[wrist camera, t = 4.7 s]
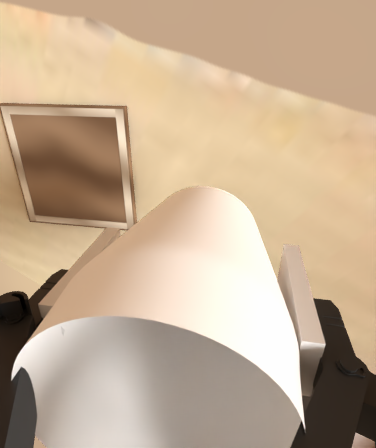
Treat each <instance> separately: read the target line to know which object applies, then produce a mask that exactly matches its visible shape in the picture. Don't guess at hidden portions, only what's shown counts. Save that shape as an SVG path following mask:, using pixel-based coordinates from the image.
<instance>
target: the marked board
mask: <svg viewBox="0 0 376 448" xmlns="http://www.w3.org/2000/svg"><path fill="white" fill-rule="evenodd" d="M0 110H1V114H2V118H3V122H4V126H5V129H6V133H7V137H8V141H9V144H10V148H11V152H12V156H13V160H14V163H15V167H16V171H17V175H18V178H19V182H20V186H21V190H22V193H23V197H24V201H25V205H26V209H27V212H28V216H29V220H30V222H40V223H51V224H62V225H73V226H85V227H96V228H107V227H109V228H119V229H120V230H129V229H130V228H131V227H132V226H133V225H135V224H136V223H137V219H136V207H135V196H134V184H133V172H132V161H131V149H130V137H129V126H128V114H127V106H97V105H56V104H14V103H1V104H0Z"/></svg>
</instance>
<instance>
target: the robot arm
mask: <svg viewBox="0 0 376 448" xmlns="http://www.w3.org/2000/svg"><path fill="white" fill-rule="evenodd" d="M119 237H120V229H119V228H109V227H107V228H106V229H105V230H104V231H103V232H102V233H101V235H100V236H99V237H98V238H97V239H96V240H95V241H94V242H93V244H92V245H91V246H90V247H89V248H88V249H87V250H86V251H85V252H84V254H83V255H82V256H81V257H80V258H79V259H78V260H77V261H76V262H75V264H74V265H73V266H72V267H71V268H70V269H69V270H64V269H61V270H60V271H58V272H56V273H54V274H53V275H52V276H51V277H50V278H49V279H48V280H47V281H46V283H44V284H43V285H42V286H41V287H40V289H38V290H37V291H36V292H35V293H34V295H32V297H31V298H30V299H29V300H28V296H27V294H25V293H24V292H20V291H14V292H9V293H6V294H3V295H1V296H0V448H33V445H34V438H35V431H36V423H37V409H36V401H35V394H34V389H33V385H32V381H31V379H30V376H29V374H28V372H27V371H26V369H25V368H23V367H21V368H20V369H19V371H18V372H17V373H16V375H15V376H14V378H13V379H12V381H11V378H12V370H13V366H14V363H15V360H16V358H17V356H18V354H19V353H20V351H21V350H22V348H23V347H24V346H25V344H26V343H27V341H28V340H29V339H30V337H31V336H32V335H33V333H34V332H35V330H36V329H37V328H38V326H39V325H40V323H41V322H42V321H43V319H44V318H45V317H46V315H47V314H48V312H49V311H50V309H51V308H52V307H53V305H54V304H55V302H56V301H57V299H58V298H59V296H60V295H61V293H62V292H63V290H64V289H65V288H66V286H67V285H68V283H69V282H70V280H71V279H72V278H73V277H74V276H75V275H76V274H77V273H78V272H79V271H80V270H81V269H82V268H83V267H84V266H85V265H86V264H87V263H89V262H90V261H91V260H92V259H93V258H95V257H96V256H97V255H98V254H99V253H101V252H102V251H103V250H104V249H105V248H107V247H108V246H109V245H110V244H111V243H113V242H114V241H115V240H116V239H118V238H119ZM277 282H278V284H279V287H280V290H281V293H282V295H283V298H284V301H285V303H286V306H287V309H288V312H289V315H290V317H291V320H292V323H293V326H294V330H295V334H296V337H297V341H298V347H299V358H300V380H301V391H302V402H303V411H304V423H305V428H304V425H303V422H302V421H301V423H300V425H299V428H298V430H297V433H296V435H295V437H294V440H293V442H292V445H291V447H290V448H352V444H353V440H354V436H355V432H356V433H358V434H361V435H363V436H365V437H367V438H369V439H371V440H373V441H375V448H376V375H375V374H373V373H371V372H370V371H369V370H368V368H367V366H366V365H365V364H364V363H363V362H362V361H361V360H360V359H359V358H357V357H356V356H355V353H354V350H353V348H352V345H351V342H350V339H349V337H348V334H347V331H346V328H345V326H344V323H343V320H342V317H341V315H340V312H339V309H338V308H337V307H336V306H335V305H334V304H333V303H332V302H331V300H322V299H314V298H313V296H312V292H311V289H310V285H309V281H308V278H307V274H306V270H305V267H304V263H303V259H302V256H301V252H300V248H299V245H289V244H284V245H283V251H282V257H281V263H280V268H279V274H278V280H277ZM61 330H62V334H63V336H64V331H65V330H64V329H63V328H62V327H61ZM305 432H306V433H305Z"/></svg>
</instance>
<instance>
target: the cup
mask: <svg viewBox="0 0 376 448" xmlns="http://www.w3.org/2000/svg"><path fill="white" fill-rule="evenodd" d="M61 327H62V328H63V329H64V330H65V331H64V336H63V334H62V330H61ZM21 367H23V368H25V369H26V371H27V372H28V374H29V376H30V379H31V381H32V385H33V389H34V394H35V401H36V409H37V423H36V431H35V436H36V437H37V438H38V439H39V440H40V441H41V442H42V443H43V444H44V445H45V446H46V447H47V448H290V447H291V445H292V442H293V440H294V437H295V435H296V433H297V430H298V428H299V425H300V423H301V421H302V422H303V425H304V428H305V423H304V411H303V402H302V391H301V380H300V358H299V347H298V341H297V337H296V334H295V330H294V326H293V323H292V320H291V317H290V315H289V312H288V309H287V306H286V303H285V301H284V298H283V295H282V293H281V290H280V287H279V284H278V282H277V279H276V276H275V274H274V271H273V268H272V266H271V263H270V260H269V257H268V255H267V252H266V249H265V247H264V244H263V241H262V239H261V236H260V233H259V231H258V228H257V225H256V222H255V220H254V218H253V216H252V214H251V212H250V211H249V209H248V208H247V207H246V206H245V204H243V203H242V202H241V201H240V200H239V199H238V198H236V197H235V196H233V195H232V194H230V193H228V192H226V191H224V190H221V189H218V188H214V187H207V186H195V187H189V188H185V189H182V190H180V191H177V192H175V193H173V194H172V195H171V196H169V197H168V198H167V199H165V200H164V201H163V202H162V203H160V204H159V205H158V206H157V207H156V208H154V209H153V210H152V211H151V212H149V213H148V214H147V215H146V216H145V217H143V218H142V219H141V220H140V221H138V222H137V223H136V224H135V225H133V226H132V227H131V228H130V229H129V230H127V231H126V232H125V233H124V234H122V235H121V236H120V237H119V238H118V239H116V240H115V241H114V242H113V243H111V244H110V245H109V246H108V247H107V248H105V249H104V250H103V251H102V252H101V253H99V254H98V255H97V256H96V257H95V258H93V259H92V260H91V261H90V262H89V263H87V264H86V265H85V266H84V267H83V268H82V269H81V270H80V271H79V272H78V273H77V274H76V275H75V276H74V277H73V278H72V279H71V280H70V282H69V283H68V285H67V286H66V288H65V289H64V290H63V292H62V293H61V295H60V296H59V298H58V299H57V301H56V302H55V304H54V305H53V307H52V308H51V309H50V311H49V312H48V314H47V315H46V317H45V318H44V319H43V321H42V322H41V323H40V325H39V326H38V328H37V329H36V330H35V332H34V333H33V335H32V336H31V337H30V339H29V340H28V341H27V343H26V344H25V346H24V347H23V348H22V350H21V351H20V353H19V354H18V356H17V358H16V360H15V363H14V366H13V370H12V378H11V381H12V379H13V378H14V376H15V375H16V373H17V372H18V371H19V369H20V368H21ZM305 433H306V432H305Z"/></svg>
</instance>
